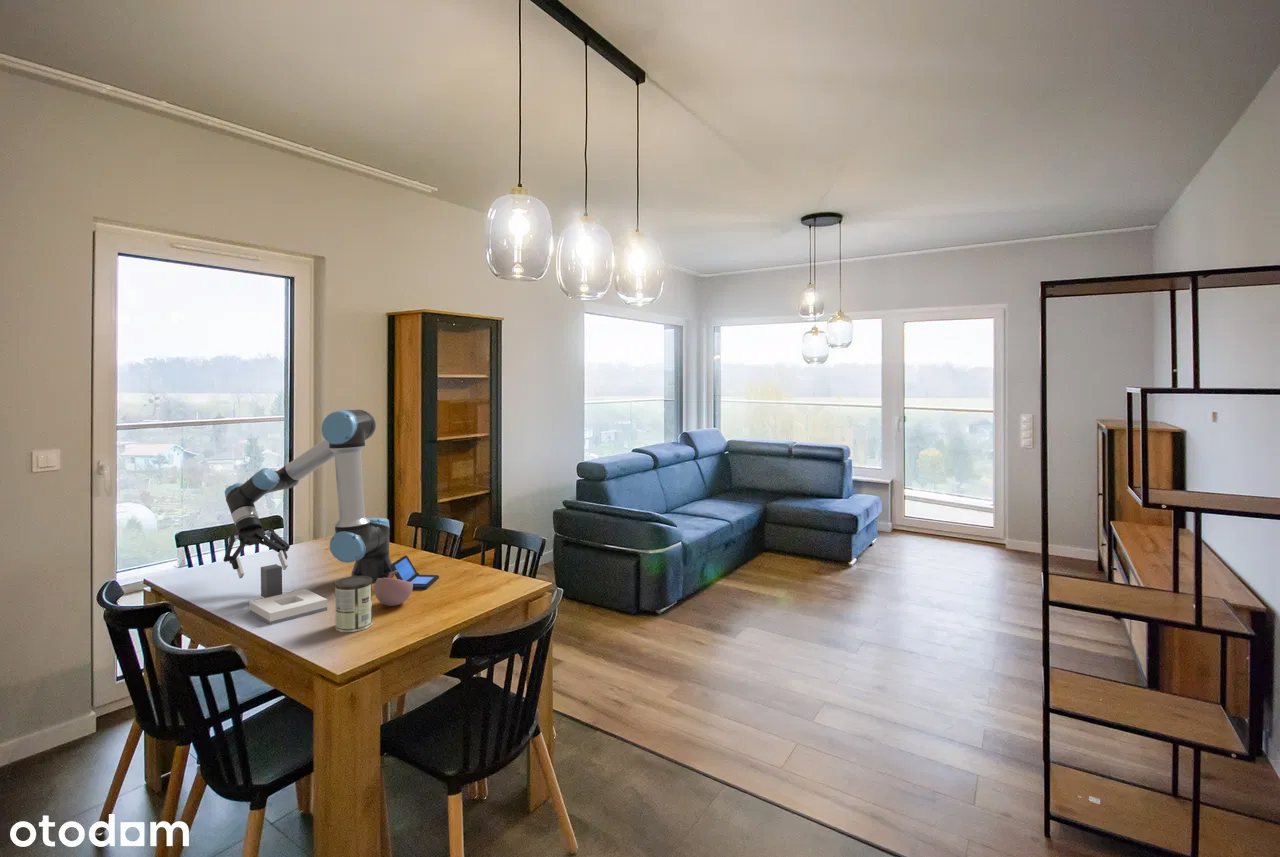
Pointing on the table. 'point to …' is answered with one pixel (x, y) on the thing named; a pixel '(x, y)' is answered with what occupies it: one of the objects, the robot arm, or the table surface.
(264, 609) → the socket
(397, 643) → the table surface
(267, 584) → the plug
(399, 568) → the handheld game console
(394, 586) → the mortar and pestle
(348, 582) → the coffee can
